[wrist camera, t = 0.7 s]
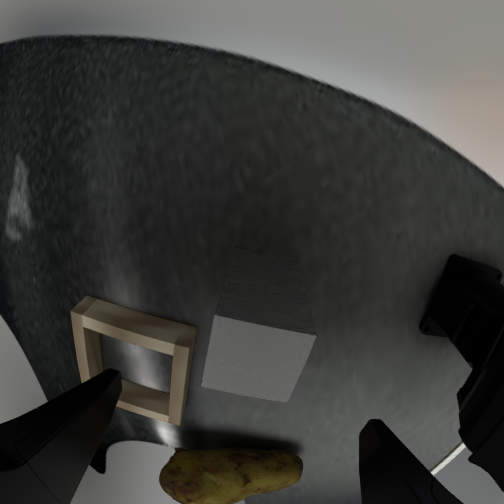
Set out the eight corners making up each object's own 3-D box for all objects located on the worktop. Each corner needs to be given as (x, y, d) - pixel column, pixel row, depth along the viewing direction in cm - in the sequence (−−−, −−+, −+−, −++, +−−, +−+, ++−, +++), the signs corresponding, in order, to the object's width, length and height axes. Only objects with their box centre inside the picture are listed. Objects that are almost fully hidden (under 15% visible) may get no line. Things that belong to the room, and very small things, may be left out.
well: (196, 327, 21) (189, 348, 18) (185, 405, 24) (179, 425, 21) (87, 295, 20) (70, 310, 18) (95, 376, 23) (84, 393, 21)
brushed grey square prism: (298, 261, 19) (317, 335, 11) (281, 315, 20) (287, 402, 12) (235, 246, 19) (214, 314, 11) (223, 302, 20) (201, 386, 12)
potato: (270, 475, 28) (268, 531, 20) (165, 442, 26) (147, 501, 19) (311, 443, 25) (317, 509, 18) (189, 405, 24) (169, 478, 16)
